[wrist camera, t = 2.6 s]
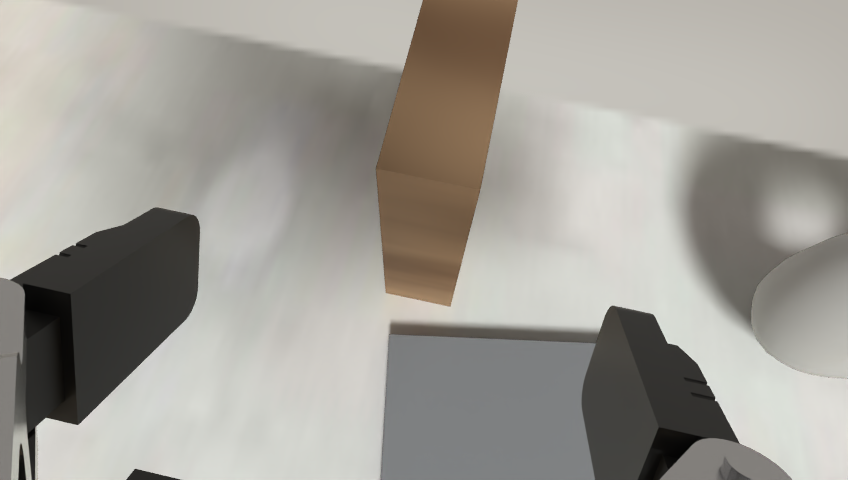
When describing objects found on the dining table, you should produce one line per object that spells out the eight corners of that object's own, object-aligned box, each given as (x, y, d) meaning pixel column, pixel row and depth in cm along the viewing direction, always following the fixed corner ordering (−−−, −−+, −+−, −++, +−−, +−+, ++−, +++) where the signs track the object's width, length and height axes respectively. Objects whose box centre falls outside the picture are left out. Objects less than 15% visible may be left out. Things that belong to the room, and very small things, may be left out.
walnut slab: (450, 306, 23) (480, 189, 14) (385, 292, 23) (375, 168, 14) (478, 171, 25) (518, -2, 16) (419, 158, 25) (428, -19, 17)
